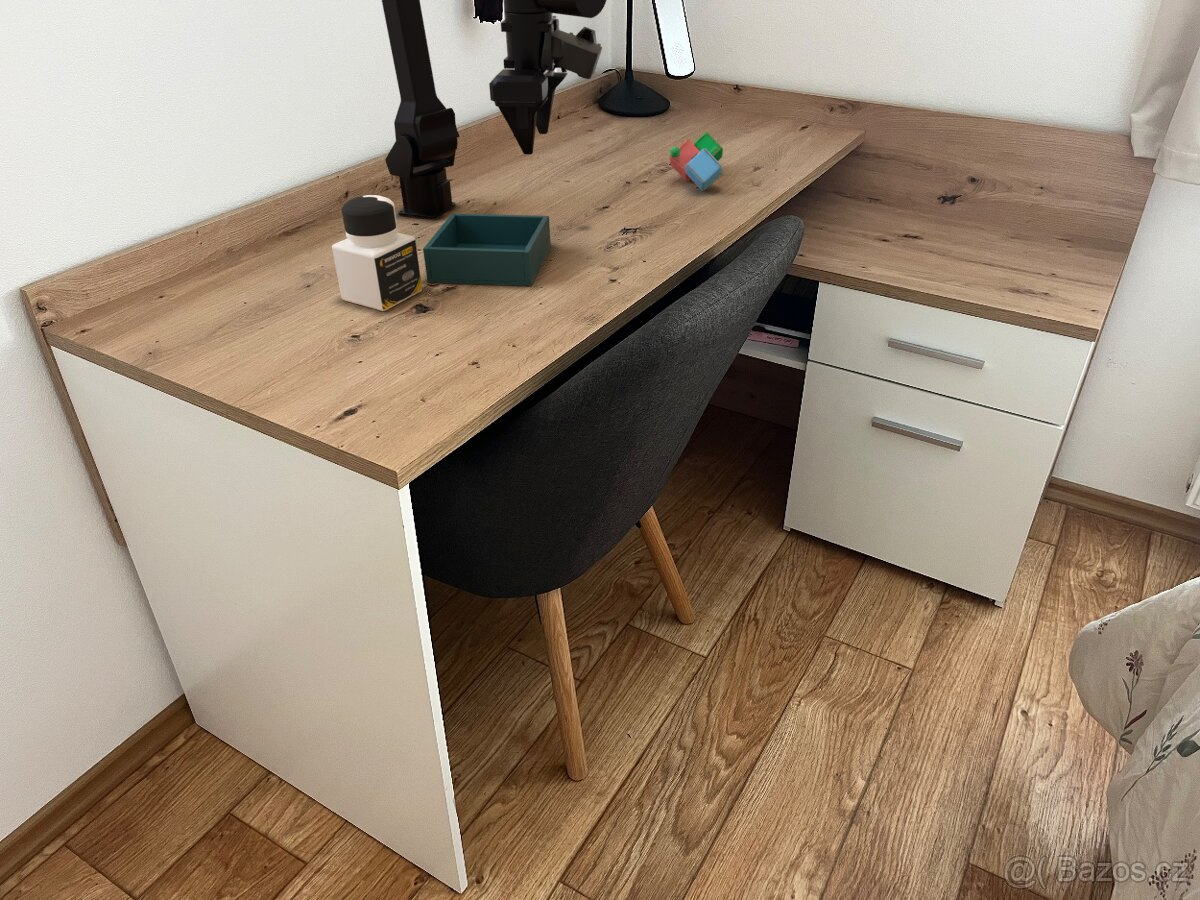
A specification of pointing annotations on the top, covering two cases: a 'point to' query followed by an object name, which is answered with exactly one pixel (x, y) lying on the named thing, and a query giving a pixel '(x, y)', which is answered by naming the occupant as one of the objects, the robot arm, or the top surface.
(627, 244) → the top surface
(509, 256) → the desk bin
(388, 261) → the medicine bottle
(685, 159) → the building blocks
